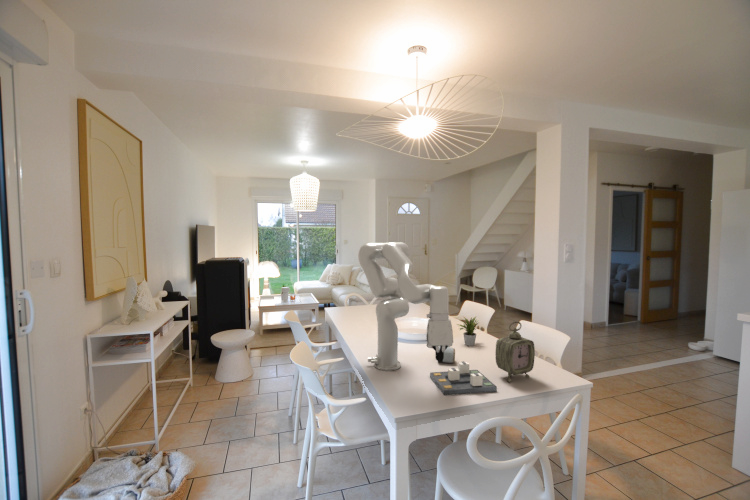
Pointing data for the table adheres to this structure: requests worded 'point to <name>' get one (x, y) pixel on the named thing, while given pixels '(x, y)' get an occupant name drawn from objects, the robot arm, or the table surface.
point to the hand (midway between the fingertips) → (439, 360)
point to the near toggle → (476, 379)
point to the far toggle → (463, 367)
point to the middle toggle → (453, 374)
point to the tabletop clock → (515, 354)
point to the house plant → (469, 332)
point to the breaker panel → (461, 384)
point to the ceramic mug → (449, 355)
